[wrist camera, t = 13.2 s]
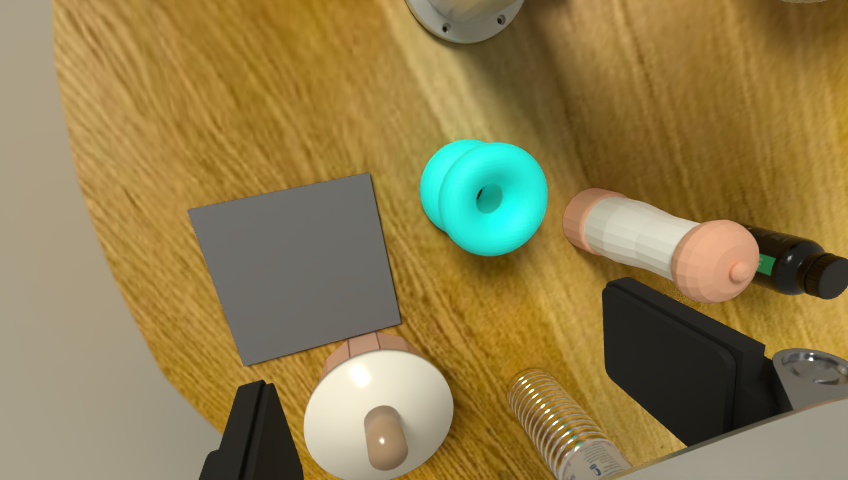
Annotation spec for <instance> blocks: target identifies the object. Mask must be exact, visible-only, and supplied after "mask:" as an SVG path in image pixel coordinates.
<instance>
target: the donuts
mask: <svg viewBox="0 0 848 480" xmlns="http://www.w3.org/2000/svg"><path fill="white" fill-rule="evenodd" d="M481 189H482V193H481V195H480V197H479V198H478V200H477V201H476V199H477V195H478V193H479V191H480V190H481ZM420 198H421V203H422V206H423V209H424V211H425V213H426V215H427V216H428V218H429V219H430V220H431V221H432V222H433V223H434V224H435V225H436V226H437V227H438V228H440V229H441V230H443V231H445V232H447V234H448V235H449V237H450V238H451V239H452V240H453V241H454V242H455V243H456V244H457V245H458V246H460V247H461V248H463V249H464V250H466V251H468V252H470V253H473V254H477V255H482V256H498V255H503V254H506V253H509V252H511V251H513V250H515V249H517V248H519V247H520V246H522V245H523V244H524V243H526V242H527V241H528V240H529V239H530V238H531V237H532V236H533V235H534V234H535V232H536V231H537V229H538V228H539V226H540V224H541V223H542V221H543V218H544V215H545V213H546V209H547V203H548V188H547V182H546V178H545V175H544V173H543V171H542V169H541V167H540V165H539V164H538V162H537V161H536V160H535V159H534V158H533V157H532V156H531V155H530V154H529V153H527V152H526V151H525V150H523V149H521V148H519V147H517V146H515V145H512V144H507V143H500V142H493V143H486V142H483V141H479V140H473V139H464V140H458V141H455V142H452V143H450V144H448V145H446V146H444V147H443V148H441V149H440V150H439V151H437V152H436V153H435V154H434V155H433V156H432V158H431V159H430V160H429V162H428V163H427V165H426V167H425V169H424V171H423V174H422V178H421V183H420Z"/></svg>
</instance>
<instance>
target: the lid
mask: <svg viewBox="0 0 848 480" xmlns="http://www.w3.org/2000/svg"><path fill="white" fill-rule="evenodd" d="M452 417H453V398H452V394H451V391H450V388H449V386H448V384H447V382H446V380H445V378H444V376H443V375H442V373H441V372H440V370H439V369H438V368H437V367H436V366H435V365H434V364H433V363H431V362H430V361H429V360H427V359H426V358H424V357H422V356H421V355H418V354H416V353H413V352H410V351H406V350H400V349H377V350H371V351H367V352H363V353H360V354H357V355H354V356H352V357H350V358H348V359H346V360H344V361H343V362H341V363H340V364H338V365H336V366H335V367H334V368H333V369H331V370H330V371H329V372H328V373H327V374H326V375H325V376H324V377H323V378H322V379H321V380H320V381H319V383H318V384H317V385H316V387H315V388H314V390H313V392H312V394H311V395H310V398H309V400H308V403H307V406H306V410H305V417H304V438H305V442H306V445H307V448H308V450H309V452H310V454H311V456H312V457H313V459H314V460H315V461H316V462H317V463H318V464H319V465H320V466H321V467H322V468H323V469H324V470H326V471H327V472H329V473H331V474H332V475H334V476H336V477H339V478H341V479H345V480H390V479H393V478H396V477H399V476H401V475H404V474H406V473H408V472H410V471H412V470H414V469H415V468H417V467H418V466H420V465H421V464H423V463H424V462H425V461H426V460H427V459H429V458H430V457H431V456H432V455H433V454H434V453H435V452H436V450H437V449H438V448H439V447H440V445H441V444H442V442H443V441H444V439H445V437H446V435H447V433H448V431H449V428H450V425H451V422H452Z"/></svg>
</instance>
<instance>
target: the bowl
mask: <svg viewBox="0 0 848 480" xmlns="http://www.w3.org/2000/svg"><path fill="white" fill-rule="evenodd" d="M377 349H400V350H406V351H410V352H413V353H416V354H418V355H420V353H419V352H418V351H417V350H416V349H415V348H414V347H413V346H411V345H410V344H409V343H408V342H407V341H406V340H405V339H404V338H403V339H402V337H399V336H395V335H390V334H385V333H380V332H377V333H375V332H373V333H369V334H366V335H362V336H358V337H355V338H351V339H349V341H348V340H347V341H345V342H344V343H343V344H342V345H341V346H340V347H339V348H338V349H337V350H335V351H334V352H333V353H332V354H331V355H330V356H329V357H328V358H327V360H326V361H325V364H324V367H323V370H322V373H321V376H320V379H319V381H320V380H321V379H322V378H323V377H324V376H325V375H326V374H327V373H328V372H329V371H330V370H331V369H333V368H334V367H335V366H336V365H338V364H340V363H341V362H343V361H344V360H346V359H348V358H350V357H352V356H354V355H357V354H360V353H363V352H367V351H371V350H377ZM318 383H319V382H318Z"/></svg>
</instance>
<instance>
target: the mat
mask: <svg viewBox="0 0 848 480" xmlns="http://www.w3.org/2000/svg"><path fill="white" fill-rule="evenodd" d="M187 211H188V214H189V217H190V219H191V222H192V225H193V228H194V231H195V233H196V236H197V239H198V242H199V244H200V247H201V250H202V253H203V255H204V258H205V261H206V264H207V266H208V269H209V272H210V275H211V277H212V280H213V283H214V286H215V289H216V291H217V294H218V297H219V300H220V302H221V305H222V308H223V311H224V313H225V316H226V319H227V322H228V324H229V327H230V330H231V333H232V335H233V338H234V341H235V344H236V346H237V349H238V352H239V355H240V358H241V360H242V363H243V366H248V365H251V364H255V363H259V362H262V361H266V360H269V359H273V358H277V357H280V356H284V355H288V354H291V353H295V352H299V351H302V350H306V349H310V348H313V347H317V346H320V345H324V344H328V343H331V342H335V341H339V340H342V339H346V338H350V337H353V336H357V335H361V334H364V333H368V332H371V331H375V330H379V329H382V328H386V327H390V326H393V325H397V324H401V320H400V315H399V310H398V306H397V301H396V296H395V292H394V287H393V282H392V277H391V273H390V268H389V263H388V259H387V254H386V249H385V245H384V240H383V235H382V230H381V226H380V221H379V216H378V212H377V207H376V202H375V197H374V193H373V188H372V183H371V179H370V174H369V172H368V173H364V174H359V175H354V176H349V177H344V178H339V179H334V180H329V181H325V182H320V183H315V184H310V185H305V186H300V187H295V188H290V189H286V190H281V191H276V192H271V193H266V194H261V195H256V196H251V197H247V198H242V199H237V200H232V201H227V202H222V203H217V204H212V205H208V206H203V207H198V208H193V209H189V210H187Z"/></svg>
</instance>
